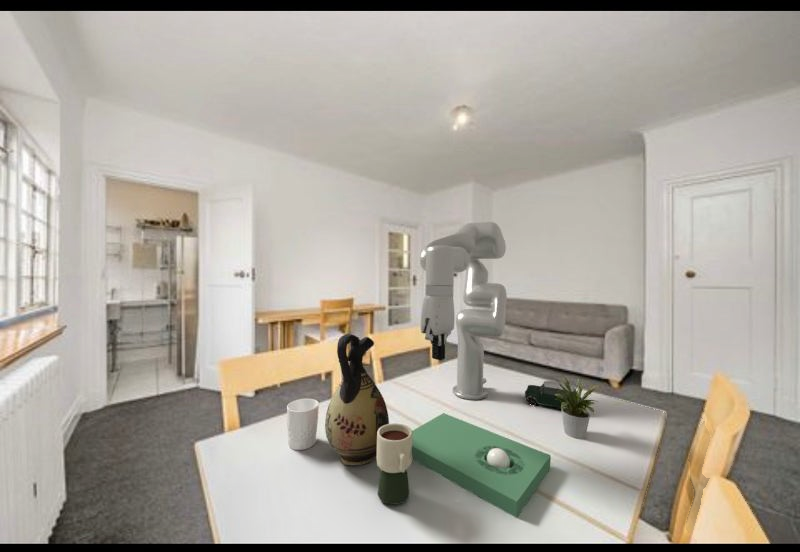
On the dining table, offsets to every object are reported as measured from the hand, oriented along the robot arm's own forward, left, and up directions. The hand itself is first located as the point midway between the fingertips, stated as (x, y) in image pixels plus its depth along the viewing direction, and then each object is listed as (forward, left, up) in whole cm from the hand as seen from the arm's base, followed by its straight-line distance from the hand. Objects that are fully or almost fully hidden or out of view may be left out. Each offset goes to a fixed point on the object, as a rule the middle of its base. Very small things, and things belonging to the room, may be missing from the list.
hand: (438, 358), depth 82 cm
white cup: (+27, -23, -22) cm, 42 cm away
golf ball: (+2, +18, -19) cm, 27 cm away
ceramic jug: (+21, -9, -22) cm, 32 cm away
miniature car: (-46, +16, -22) cm, 53 cm away
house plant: (-29, +26, -22) cm, 45 cm away
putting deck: (+2, +12, -22) cm, 25 cm away
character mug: (+24, +7, -22) cm, 33 cm away
